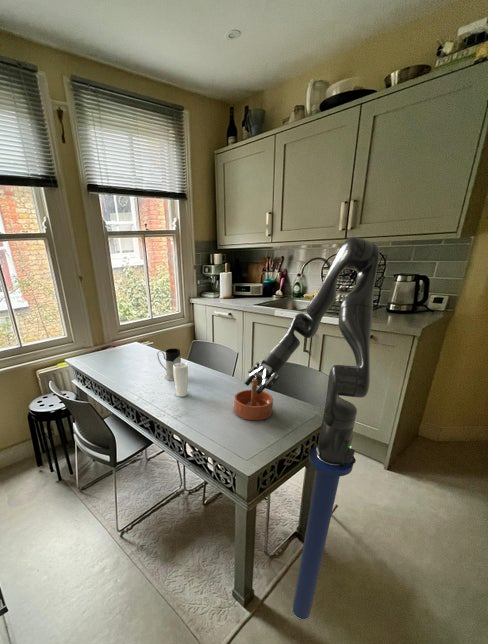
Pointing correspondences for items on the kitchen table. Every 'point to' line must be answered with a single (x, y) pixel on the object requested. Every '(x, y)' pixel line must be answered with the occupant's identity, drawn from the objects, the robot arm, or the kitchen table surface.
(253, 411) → the bowl
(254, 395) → the wooden knob stand
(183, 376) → the drinking glass
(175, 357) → the pitcher
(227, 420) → the kitchen table surface
